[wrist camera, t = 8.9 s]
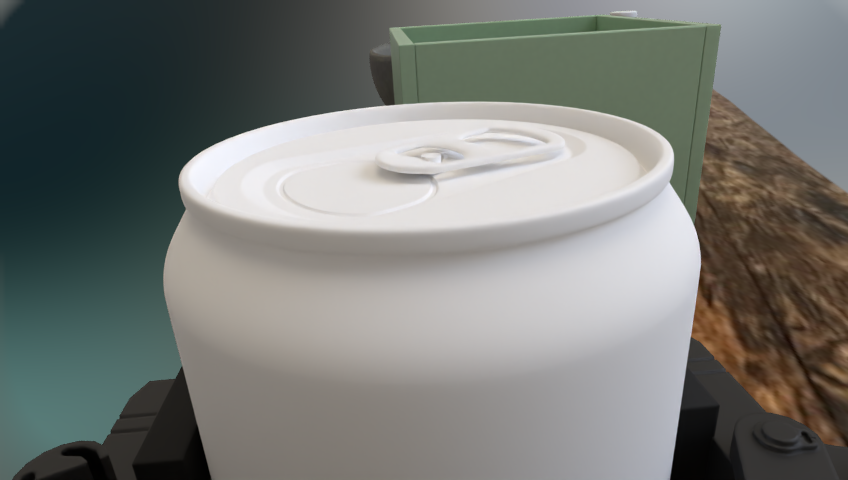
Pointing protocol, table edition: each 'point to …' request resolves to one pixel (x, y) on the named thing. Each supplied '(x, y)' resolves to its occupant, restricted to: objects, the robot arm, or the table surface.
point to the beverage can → (435, 296)
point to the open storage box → (574, 73)
